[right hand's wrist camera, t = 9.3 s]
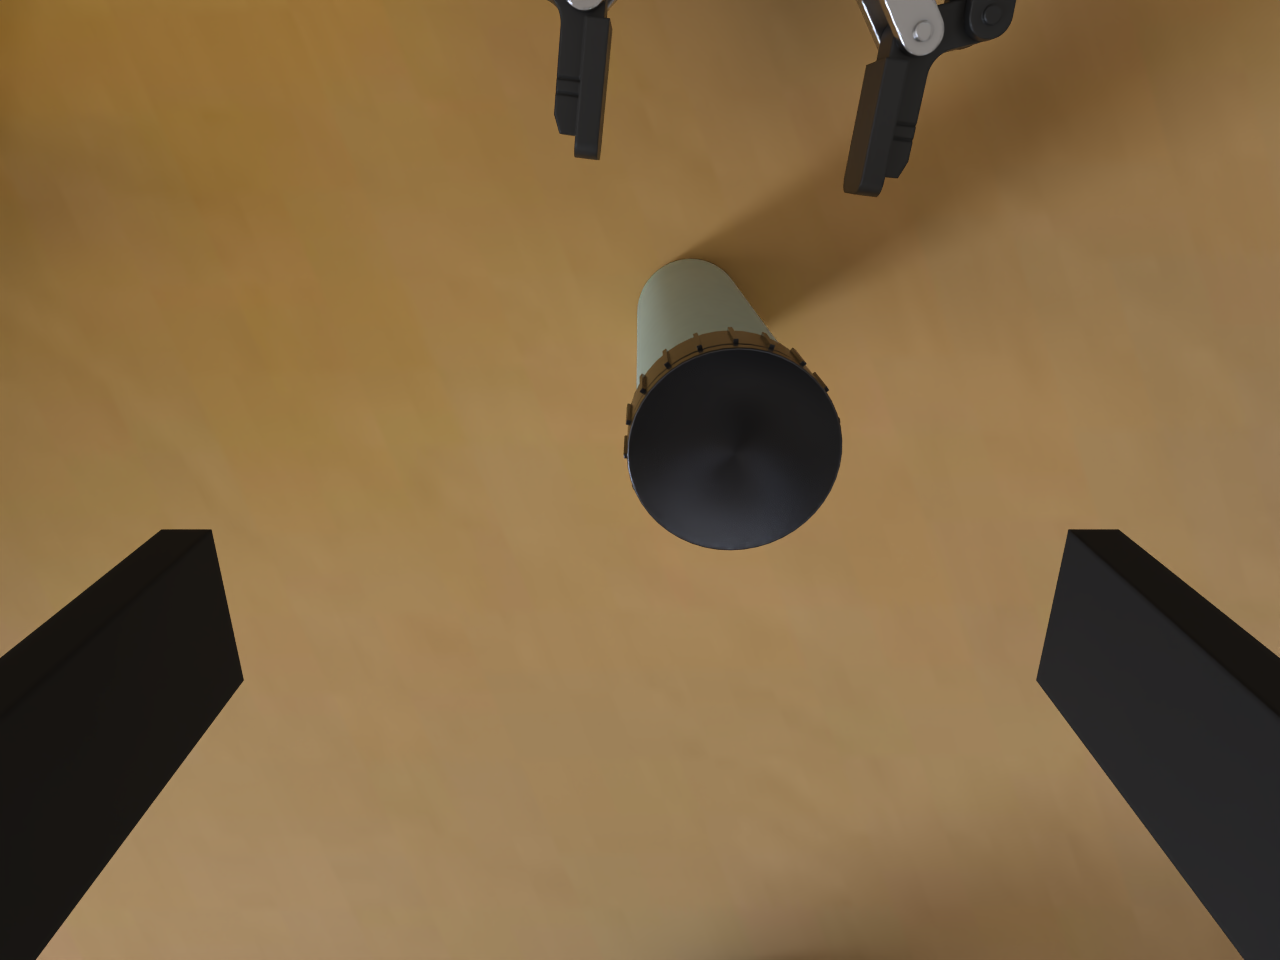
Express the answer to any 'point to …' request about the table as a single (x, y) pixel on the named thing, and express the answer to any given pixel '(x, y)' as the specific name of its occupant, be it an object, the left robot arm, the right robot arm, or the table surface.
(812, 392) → the lid
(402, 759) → the table surface
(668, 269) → the bottle
